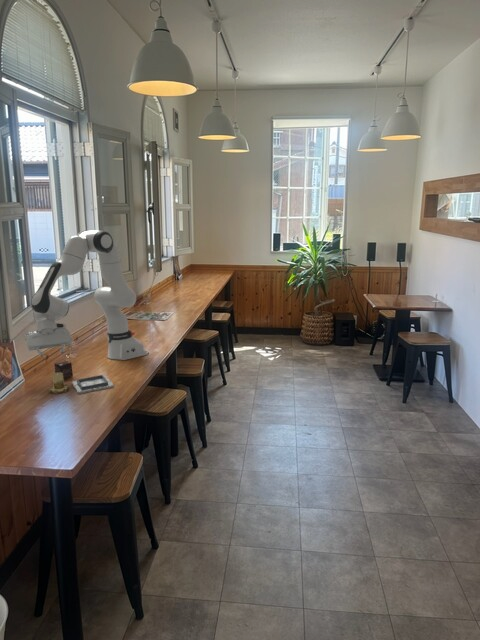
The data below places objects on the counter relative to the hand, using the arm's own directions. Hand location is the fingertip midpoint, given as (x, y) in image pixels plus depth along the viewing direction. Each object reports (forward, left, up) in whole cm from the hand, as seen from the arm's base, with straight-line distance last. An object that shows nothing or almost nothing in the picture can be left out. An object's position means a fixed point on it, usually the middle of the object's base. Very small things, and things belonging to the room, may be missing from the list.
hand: (52, 354), depth 229 cm
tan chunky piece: (0, +12, -14) cm, 19 cm away
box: (-5, -7, -14) cm, 17 cm away
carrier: (-15, +13, -14) cm, 24 cm away
